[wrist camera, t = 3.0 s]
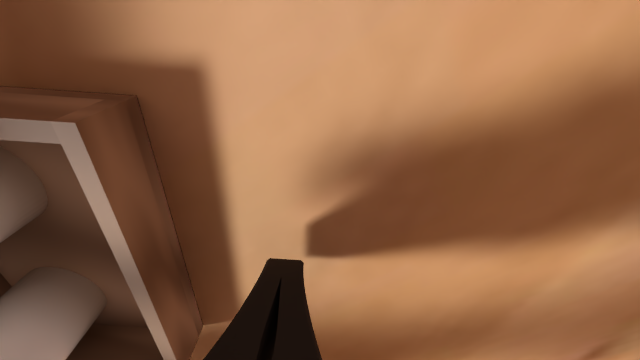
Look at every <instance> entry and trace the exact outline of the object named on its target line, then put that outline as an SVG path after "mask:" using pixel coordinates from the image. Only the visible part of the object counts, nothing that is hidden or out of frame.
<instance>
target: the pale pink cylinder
mask: <svg viewBox="0 0 640 360" xmlns="http://www.w3.org/2000/svg"><path fill="white" fill-rule="evenodd" d="M47 202H48V198H47V193H46V190H45V188H44V186H43V184H42V182H41V181H40V179H39V178H38V176H37V175H36V174H35V173H34V172H33V170H32V169H31V168H30V167H29V166H28V165H26V164H25V163H24V162H23V161H22V160H21V159H19V158H18V157H17V156H15V155H14V154H12V153H11V152H9V151H8V150H6V149H4V148H2V147H1V146H0V243H1V242H2V241H4V240H5V239H7V238H8V237H9V236H11V235H12V234H14V233H15V232H16V231H18V230H19V229H21V228H22V227H23V226H25V225H26V224H28V223H29V222H31V221H32V220H33V219H35V218H36V217H38V216H39V215H40V214H42V213H43V212H44V211H45V209H46V207H47Z"/></svg>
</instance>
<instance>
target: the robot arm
mask: <svg viewBox="0 0 640 360" xmlns="http://www.w3.org/2000/svg"><path fill="white" fill-rule="evenodd" d="M303 264H304V263H303V262H302V261H301V260H287V259H271V258H270V259H268V260H267V262H266V264H265V267H264V269H263V271H262V273H261V275H260V277H259V278H258V280H257V282H256V284H255V286H254V287H253V289H252V291H251V292H250V294H249V296H248V297H247V299H246V300H245V302H244V304H243V305H242V307H241V308H240V310H239V312H238V313H237V314H236V316H235V317H234V319H233V320H232V322H231V323H230V325H229V326H228V327H227V329H226V330H225V332H224V333H223V334H222V336H221V337H220V339H219V340H218V341H217V343H216V344H215V345H214V346H213V348H212V349H211V350H210V352H209V353H208V354H207V355H206V357H205V358H204V359H203V360H322V358H321V355H320V351H319V348H318V345H317V341H316V338H315V334H314V331H313V327H312V323H311V319H310V314H309V310H308V305H307V300H306V294H305V287H304V278H303Z"/></svg>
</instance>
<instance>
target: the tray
mask: <svg viewBox="0 0 640 360" xmlns="http://www.w3.org/2000/svg"><path fill="white" fill-rule="evenodd" d="M0 146H1V147H2V148H4V149H6V150H8V151H9V152H11V153H12V154H14V155H15V156H17V157H18V158H19V159H21V160H22V161H23V162H24V163H25V164H26V165H28V166H29V167H30V168H31V169H32V170H33V172H34V173H35V174H36V175H37V176H38V178H39V179H40V181H41V182H42V184H43V186H44V188H45V190H46V193H47V198H48V202H47V207H46V209H45V211H44V212H43V213H42V214H40V215H39V216H38V217H36V218H35V219H33V220H32V221H31V222H29V223H28V224H26V225H25V226H23V227H22V228H21V229H19V230H18V231H16V232H15V233H14V234H12V235H11V236H9V237H8V238H7V239H5V240H4V241H2V242H1V243H0V297H1V296H2V295H3V294H5V293H6V292H7V291H8V290H9V289H10V288H11V287H13V286H14V285H15V284H16V283H17V282H18V281H19V280H21V279H22V278H23V277H24V276H25V275H26V274H27V273H29V272H30V271H31V270H33V269H35V268H40V267H56V268H61V269H65V270H69V271H72V272H75V273H77V274H79V275H81V276H84V277H85V278H87V279H89V280H90V281H92V282H93V283H94V284H96V285H97V286H98V287H99V288H100V289H101V290H102V291H103V293H104V294H105V296H106V299H107V304H106V307H105V308H104V310H103V311H102V312H101V314H100V315H99V316H98V318H97V319H96V320H95V322H94V323H93V324H92V325H91V327H90V328H89V329H88V331H87V332H86V333H85V335H84V336H83V337H82V339H81V340H80V341H79V343H78V344H77V345H76V347H75V348H74V349H73V351H72V352H71V353H70V355H69V356H68V357H67V359H66V360H190V357H191V355H192V352H193V350H194V347H195V345H196V342H197V340H198V337H199V335H200V332H201V330H202V327H203V325H202V321H201V318H200V314H199V311H198V307H197V304H196V300H195V297H194V293H193V290H192V286H191V283H190V280H189V276H188V273H187V269H186V266H185V262H184V259H183V255H182V252H181V248H180V245H179V241H178V238H177V235H176V231H175V228H174V224H173V221H172V217H171V214H170V210H169V207H168V203H167V200H166V196H165V193H164V190H163V186H162V183H161V179H160V176H159V172H158V169H157V165H156V162H155V158H154V155H153V151H152V148H151V145H150V141H149V138H148V134H147V131H146V127H145V124H144V120H143V117H142V113H141V110H140V106H139V103H138V100H137V96H134V95H119V94H105V93H90V92H76V91H61V90H47V89H32V88H17V87H3V86H0Z"/></svg>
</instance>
